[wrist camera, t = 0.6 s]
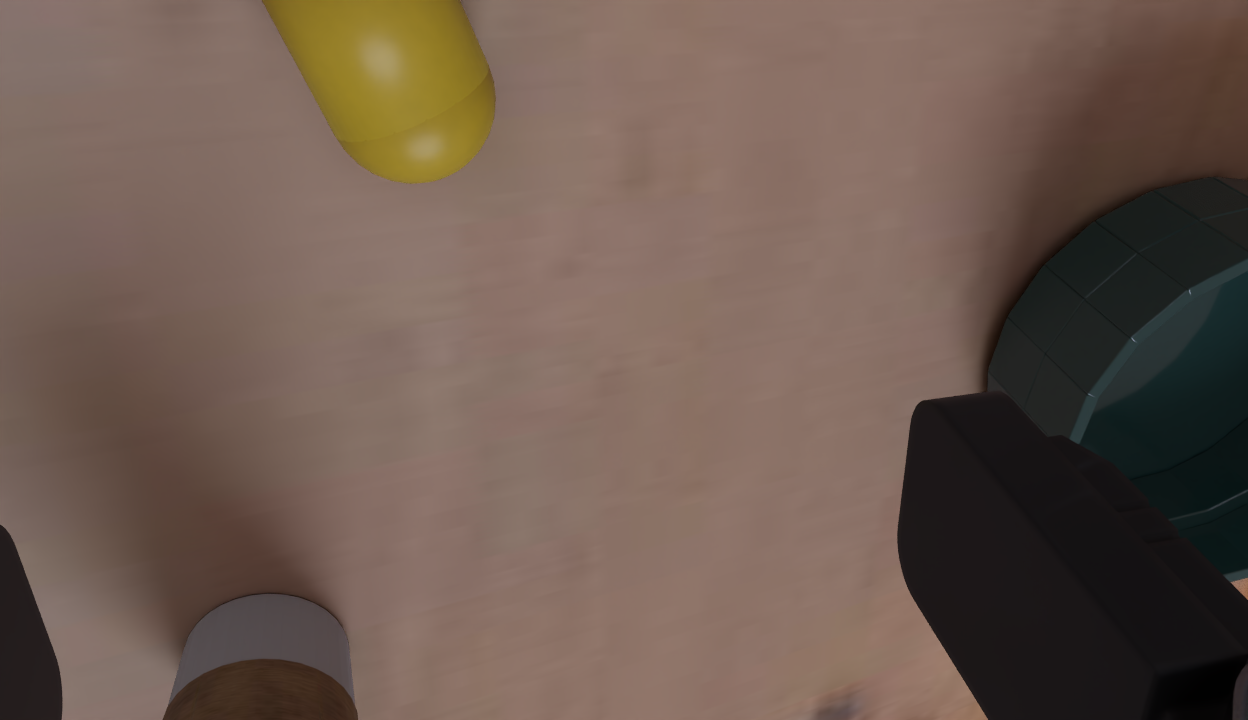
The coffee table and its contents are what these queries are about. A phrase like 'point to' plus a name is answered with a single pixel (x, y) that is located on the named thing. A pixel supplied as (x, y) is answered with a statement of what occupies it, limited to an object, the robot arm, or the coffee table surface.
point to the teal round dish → (1149, 355)
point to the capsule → (394, 80)
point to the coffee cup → (265, 664)
